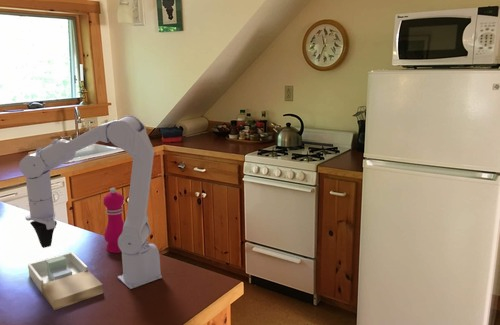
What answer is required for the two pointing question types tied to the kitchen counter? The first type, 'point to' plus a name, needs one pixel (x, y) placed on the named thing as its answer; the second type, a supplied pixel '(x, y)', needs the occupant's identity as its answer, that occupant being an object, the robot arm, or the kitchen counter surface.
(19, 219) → the kitchen counter surface
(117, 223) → the pepper mill
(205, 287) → the kitchen counter surface
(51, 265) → the tile
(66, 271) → the tile
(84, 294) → the oak plate
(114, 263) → the kitchen counter surface
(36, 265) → the box
